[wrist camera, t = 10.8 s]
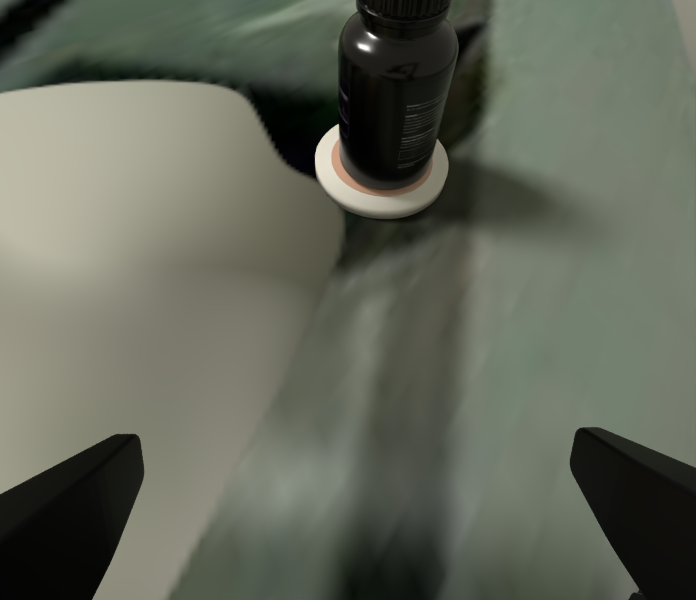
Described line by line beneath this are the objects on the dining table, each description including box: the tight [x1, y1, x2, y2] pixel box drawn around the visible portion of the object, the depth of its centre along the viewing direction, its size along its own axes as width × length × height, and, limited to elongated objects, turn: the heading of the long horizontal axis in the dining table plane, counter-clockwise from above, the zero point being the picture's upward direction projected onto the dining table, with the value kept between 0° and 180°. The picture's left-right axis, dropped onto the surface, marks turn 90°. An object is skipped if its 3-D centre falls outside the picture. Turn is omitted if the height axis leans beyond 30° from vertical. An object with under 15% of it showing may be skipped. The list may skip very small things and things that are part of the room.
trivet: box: [315, 124, 448, 219], centre depth 30 cm, size 10×10×1 cm
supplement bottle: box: [338, 0, 458, 190], centre depth 25 cm, size 7×7×12 cm
